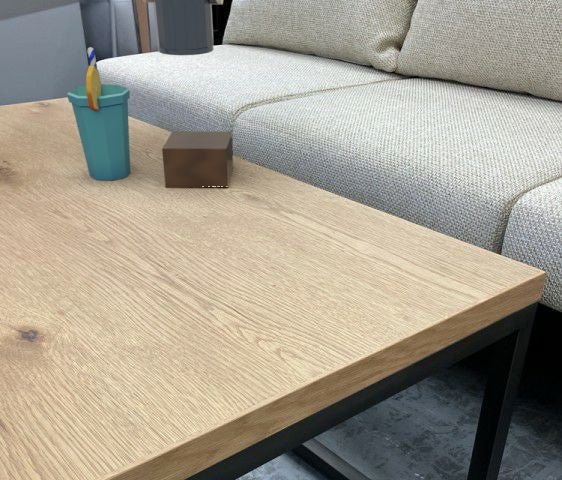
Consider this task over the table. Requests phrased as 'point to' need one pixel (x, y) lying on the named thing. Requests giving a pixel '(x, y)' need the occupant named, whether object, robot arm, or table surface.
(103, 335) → the table surface
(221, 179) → the walnut block
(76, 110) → the cup
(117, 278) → the table surface
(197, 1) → the slate cup
